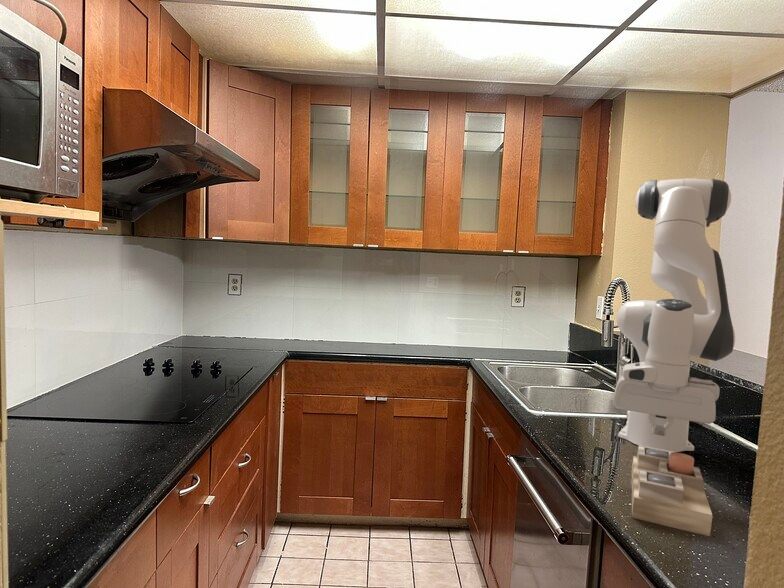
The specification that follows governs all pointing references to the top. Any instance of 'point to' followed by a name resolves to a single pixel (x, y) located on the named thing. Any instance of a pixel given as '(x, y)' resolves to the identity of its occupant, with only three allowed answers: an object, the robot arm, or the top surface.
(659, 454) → the button
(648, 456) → the control panel
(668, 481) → the button
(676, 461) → the middle button
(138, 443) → the top surface
